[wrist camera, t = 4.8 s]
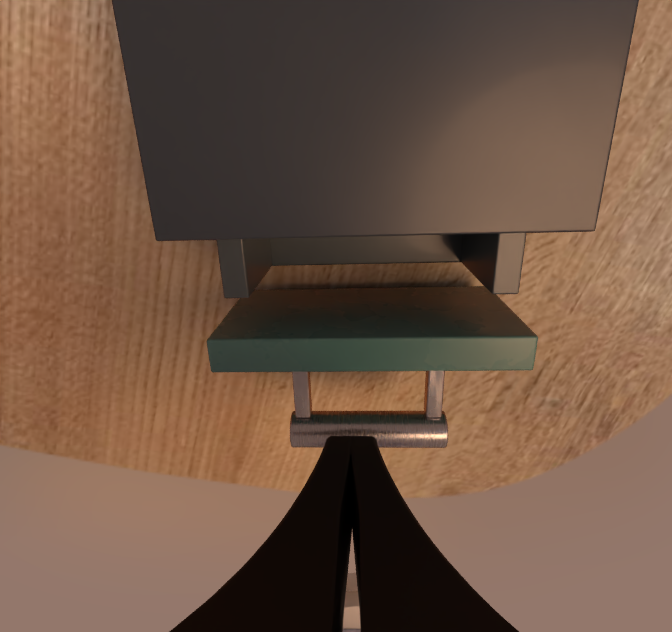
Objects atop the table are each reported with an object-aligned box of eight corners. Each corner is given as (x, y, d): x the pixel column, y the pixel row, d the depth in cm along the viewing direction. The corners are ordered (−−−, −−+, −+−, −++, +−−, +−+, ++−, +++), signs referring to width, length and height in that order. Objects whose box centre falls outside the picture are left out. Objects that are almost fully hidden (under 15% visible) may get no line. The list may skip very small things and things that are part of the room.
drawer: (476, 397, 20) (516, 479, 15) (257, 398, 20) (226, 477, 15) (522, -46, 14) (616, -157, 9) (209, -29, 14) (133, -124, 9)
